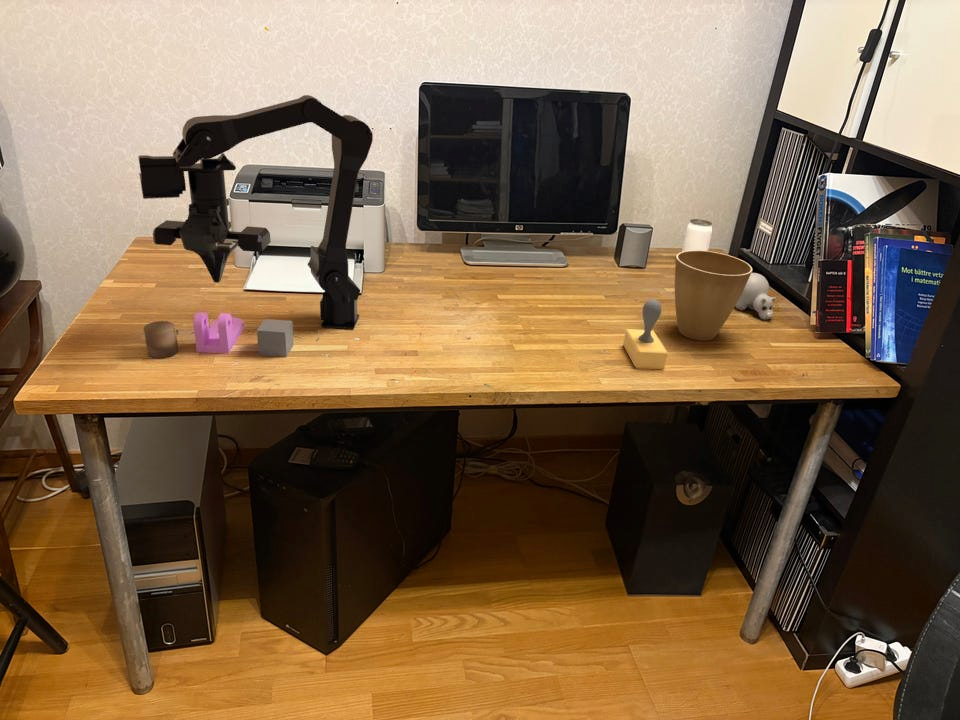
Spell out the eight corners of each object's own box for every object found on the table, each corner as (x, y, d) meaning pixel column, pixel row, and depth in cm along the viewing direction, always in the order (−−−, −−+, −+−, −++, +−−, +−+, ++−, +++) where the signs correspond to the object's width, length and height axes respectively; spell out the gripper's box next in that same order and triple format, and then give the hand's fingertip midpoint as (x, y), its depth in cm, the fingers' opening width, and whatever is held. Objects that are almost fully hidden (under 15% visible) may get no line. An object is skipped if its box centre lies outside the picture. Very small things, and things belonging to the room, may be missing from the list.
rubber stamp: (622, 345, 141) (632, 289, 136) (650, 346, 142) (661, 290, 136) (634, 368, 132) (646, 309, 127) (664, 369, 133) (677, 311, 127)
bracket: (229, 354, 126) (225, 318, 123) (197, 352, 126) (192, 317, 123) (246, 324, 138) (243, 291, 135) (217, 323, 138) (213, 289, 134)
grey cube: (293, 345, 131) (292, 320, 129) (286, 357, 127) (285, 332, 124) (266, 343, 131) (264, 319, 129) (258, 355, 127) (256, 330, 124)
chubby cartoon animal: (747, 331, 159) (765, 304, 152) (722, 294, 166) (738, 267, 159) (773, 328, 161) (792, 302, 154) (747, 292, 168) (764, 265, 162)
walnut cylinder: (182, 347, 127) (179, 322, 125) (171, 360, 123) (167, 334, 121) (154, 345, 127) (151, 320, 125) (142, 357, 123) (138, 332, 120)
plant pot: (700, 354, 140) (717, 278, 132) (647, 325, 150) (660, 254, 143) (749, 341, 147) (768, 268, 140) (695, 315, 158) (710, 246, 151)
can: (706, 270, 186) (716, 226, 181) (682, 269, 186) (691, 224, 181) (700, 262, 192) (709, 219, 186) (676, 260, 192) (685, 217, 186)
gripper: (131, 203, 113) (145, 294, 120) (248, 212, 113) (255, 302, 120) (161, 187, 123) (172, 272, 130) (268, 195, 123) (273, 279, 130)
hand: (217, 281), depth 127 cm, fingers closed
